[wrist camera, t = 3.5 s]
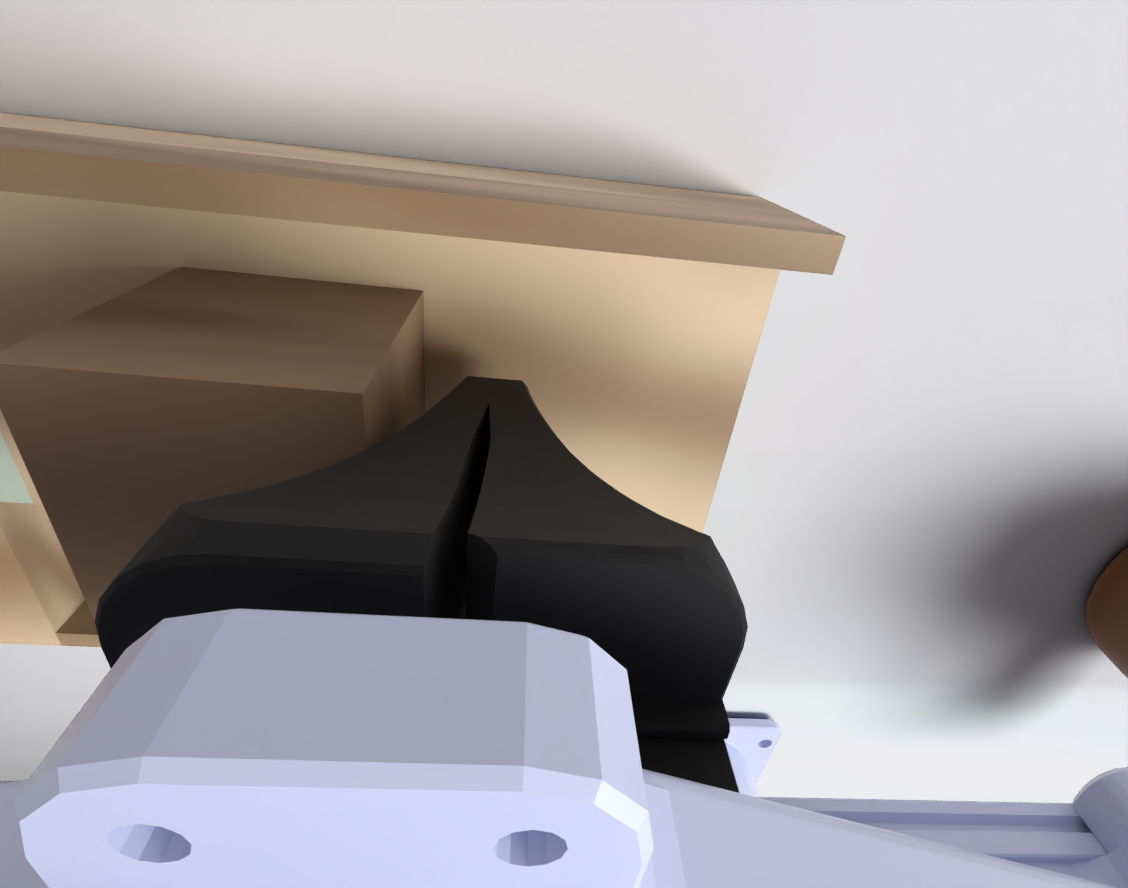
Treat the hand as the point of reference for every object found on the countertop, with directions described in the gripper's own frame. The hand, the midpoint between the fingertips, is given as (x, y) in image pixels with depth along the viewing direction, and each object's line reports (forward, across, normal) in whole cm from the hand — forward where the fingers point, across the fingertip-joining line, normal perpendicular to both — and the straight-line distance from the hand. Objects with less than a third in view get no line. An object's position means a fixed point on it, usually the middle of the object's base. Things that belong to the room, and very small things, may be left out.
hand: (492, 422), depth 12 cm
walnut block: (+1, +4, 0) cm, 4 cm away
